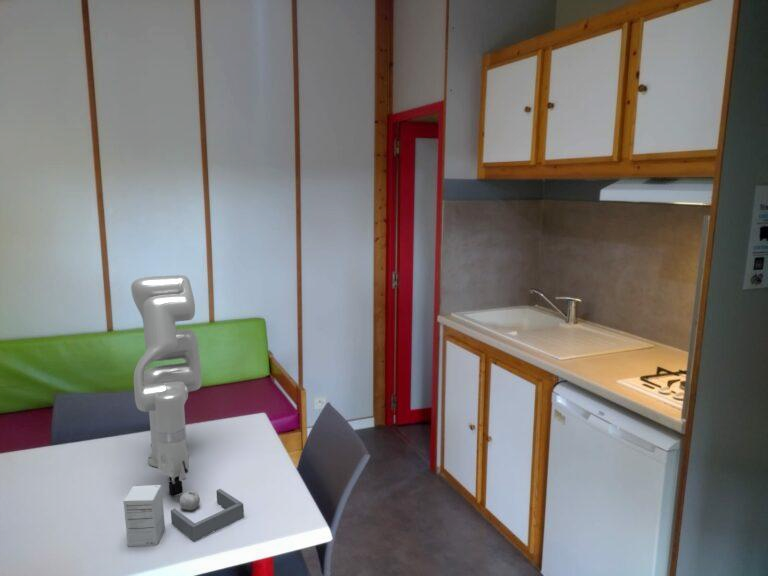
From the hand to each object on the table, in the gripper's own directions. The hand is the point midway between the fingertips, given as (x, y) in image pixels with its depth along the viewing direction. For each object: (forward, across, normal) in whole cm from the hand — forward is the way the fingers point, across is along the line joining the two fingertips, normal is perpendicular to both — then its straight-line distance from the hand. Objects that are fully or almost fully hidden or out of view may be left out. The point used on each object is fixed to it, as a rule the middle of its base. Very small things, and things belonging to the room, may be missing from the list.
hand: (176, 493), depth 166 cm
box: (+1, +17, 0) cm, 17 cm away
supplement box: (+1, +12, -15) cm, 19 cm away
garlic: (+1, +8, 0) cm, 8 cm away
